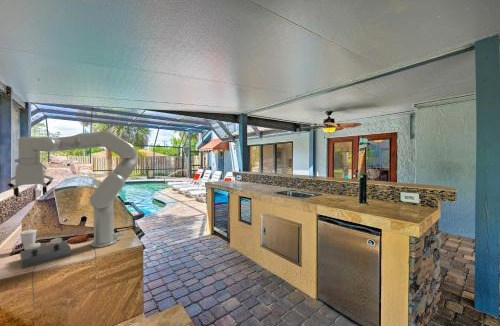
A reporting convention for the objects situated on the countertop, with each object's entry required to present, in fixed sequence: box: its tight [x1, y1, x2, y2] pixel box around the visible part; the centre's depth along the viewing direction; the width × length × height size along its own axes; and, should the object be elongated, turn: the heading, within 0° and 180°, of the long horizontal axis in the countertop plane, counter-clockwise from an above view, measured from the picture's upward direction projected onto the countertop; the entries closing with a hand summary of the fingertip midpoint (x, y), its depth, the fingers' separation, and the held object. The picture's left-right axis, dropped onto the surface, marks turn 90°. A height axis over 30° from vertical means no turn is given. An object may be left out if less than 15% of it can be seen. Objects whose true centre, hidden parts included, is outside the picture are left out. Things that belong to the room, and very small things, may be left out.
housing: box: [19, 240, 72, 269], centre depth 109 cm, size 17×12×4 cm
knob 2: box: [49, 237, 63, 248], centre depth 112 cm, size 4×4×5 cm
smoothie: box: [19, 222, 38, 251], centre depth 117 cm, size 6×6×14 cm
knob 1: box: [28, 242, 42, 253], centre depth 106 cm, size 4×4×5 cm
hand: (31, 195), depth 111 cm, fingers open, 9 cm apart
